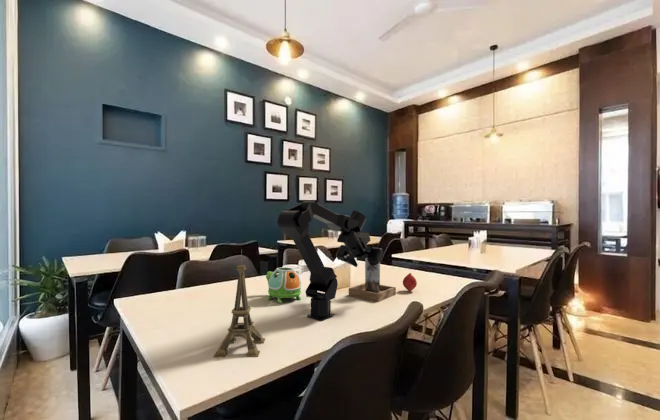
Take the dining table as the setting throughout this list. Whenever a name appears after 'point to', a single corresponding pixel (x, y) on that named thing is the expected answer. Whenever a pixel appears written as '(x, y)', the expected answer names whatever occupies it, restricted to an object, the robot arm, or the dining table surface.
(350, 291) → the tray
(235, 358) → the dining table surface
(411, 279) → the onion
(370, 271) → the tin
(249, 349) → the eiffel tower
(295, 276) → the turtle holder
